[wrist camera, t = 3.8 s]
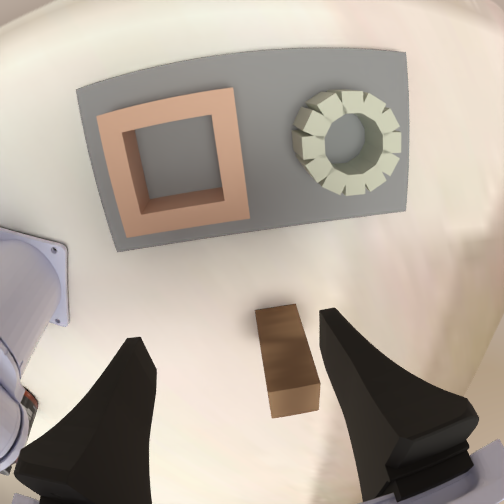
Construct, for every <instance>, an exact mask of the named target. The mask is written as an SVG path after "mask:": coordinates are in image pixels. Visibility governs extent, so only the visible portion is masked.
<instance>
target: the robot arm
mask: <svg viewBox="0 0 504 504" xmlns="http://www.w3.org/2000/svg"><path fill="white" fill-rule="evenodd" d="M53 247H54V248H56V250H57V251H55V250H54V249H53ZM319 316H320V350H321V354H322V358H323V361H324V365H325V368H326V371H327V374H328V376H329V379H330V381H331V384H332V386H333V389H334V391H335V394H336V396H337V399H338V401H339V404H340V406H341V409H342V412H343V414H344V417H345V421H346V424H347V428H348V432H349V436H350V440H351V444H352V448H353V452H354V457H355V461H356V466H357V471H358V476H359V481H360V487H361V492H362V499H363V502H362V503H359V504H498V503H500V502H502V501H503V500H504V447H503V445H502V443H501V441H500V440H499V439H496V440H495V441H493V442H491V443H490V444H488V445H486V446H484V447H482V448H481V449H479V450H477V451H476V452H474V453H473V454H471V455H470V456H469V453H468V451H467V450H468V449H469V444H468V442H467V440H466V439H467V438H468V437H469V435H470V434H471V433H472V432H473V430H474V429H475V428H476V426H477V424H478V421H479V417H478V415H477V413H476V411H475V410H474V408H473V406H472V405H471V403H470V402H469V401H468V399H467V398H464V397H462V396H459V395H456V394H453V393H451V392H448V391H445V390H443V389H441V388H438V387H436V386H434V385H432V384H430V383H428V382H426V381H424V380H422V379H420V378H418V377H417V376H415V375H413V374H411V373H410V372H408V371H406V370H405V369H403V368H402V367H400V366H399V365H397V364H396V363H394V362H393V361H392V360H390V359H389V358H388V357H386V356H385V355H384V354H383V353H381V352H380V351H379V350H378V349H377V348H375V347H374V346H373V345H372V344H371V343H370V342H369V341H368V340H366V339H365V338H364V337H363V336H362V335H361V334H360V333H359V332H358V331H357V330H356V329H355V328H354V327H353V326H352V325H351V324H350V323H349V322H348V321H347V320H346V319H345V318H344V317H343V316H342V314H341V313H340V312H339V311H338V310H337V309H336V308H329V309H324V310H319ZM58 319H59V320H58ZM49 322H50V323H54V324H57V325H60V326H64V327H66V326H67V325H68V324H69V311H68V289H67V248H66V247H65V246H64V245H63V244H60V243H56V242H52V241H49V240H45V239H41V238H37V237H33V236H30V235H26V234H22V233H19V232H15V231H11V230H8V229H4V228H0V471H2V470H4V469H6V468H7V467H8V466H10V465H11V464H12V463H13V462H14V461H15V460H16V459H17V458H18V460H17V463H16V467H15V470H14V475H15V477H16V478H17V479H18V480H19V481H20V482H21V483H22V484H24V485H25V486H27V487H28V488H30V489H31V490H33V491H34V492H36V493H37V494H39V495H40V496H41V497H40V501H38V500H36V499H33V498H31V497H27V496H24V495H21V494H18V493H15V494H14V496H13V501H12V504H152V500H151V490H150V476H149V438H150V430H151V423H152V416H153V409H154V403H155V396H156V379H157V369H156V367H155V365H154V363H153V361H152V359H151V357H150V355H149V353H148V351H147V349H146V347H145V345H144V343H143V341H142V339H141V337H134V338H127V339H126V341H125V342H124V343H123V345H122V346H121V348H120V349H119V351H118V352H117V353H116V355H115V356H114V358H113V359H112V361H111V362H110V364H109V365H108V366H107V368H106V369H105V371H104V372H103V373H102V375H101V376H100V377H99V379H98V380H97V381H96V383H95V384H94V385H93V386H92V388H91V389H90V390H89V392H88V393H87V394H86V395H85V396H84V398H83V399H82V400H81V401H80V402H79V403H78V404H77V405H76V406H75V407H74V408H73V409H72V410H71V411H70V412H69V413H68V414H67V415H66V416H65V417H64V418H63V419H62V420H61V421H60V422H59V423H57V424H56V425H55V426H54V427H53V428H51V429H50V430H49V431H48V432H46V433H45V434H44V435H42V436H41V437H39V438H38V439H37V440H35V441H33V442H32V443H30V444H29V445H27V446H25V447H24V445H25V443H26V440H27V436H28V430H29V420H28V415H27V412H26V410H25V408H24V406H23V405H22V404H21V400H22V398H23V395H24V393H25V389H24V387H23V386H22V384H21V382H20V379H21V377H22V375H23V373H24V370H25V368H26V366H27V364H28V362H29V360H30V358H31V356H32V354H33V352H34V350H35V348H36V346H37V344H38V342H39V340H40V338H41V336H42V334H43V332H44V330H45V328H46V326H47V325H48V323H49Z"/></svg>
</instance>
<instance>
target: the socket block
mask: <svg viewBox="0 0 504 504" xmlns="http://www.w3.org/2000/svg"><path fill="white" fill-rule="evenodd" d="M76 93H77V98H78V104H79V109H80V115H81V120H82V125H83V129H84V134H85V139H86V143H87V148H88V152H89V156H90V160H91V164H92V168H93V172H94V176H95V180H96V184H97V188H98V191H99V195H100V198H101V202H102V206H103V209H104V212H105V216H106V219H107V222H108V226H109V229H110V232H111V235H112V238H113V241H114V244H115V247H116V250H117V252H122V251H128V250H134V249H140V248H147V247H153V246H159V245H166V244H172V243H178V242H185V241H192V240H198V239H205V238H211V237H218V236H225V235H232V234H238V233H245V232H252V231H259V230H266V229H273V228H281V227H288V226H295V225H302V224H310V223H317V222H325V221H332V220H340V219H347V218H355V217H363V216H371V215H379V214H387V213H395V212H403V211H406V203H407V188H408V169H409V91H408V73H407V59H406V52H397V51H387V50H374V49H356V48H292V49H274V50H260V51H249V52H240V53H231V54H224V55H216V56H210V57H203V58H197V59H191V60H186V61H180V62H175V63H170V64H166V65H161V66H156V67H152V68H148V69H144V70H140V71H136V72H132V73H128V74H124V75H121V76H117V77H114V78H110V79H107V80H103V81H100V82H97V83H94V84H91V85H88V86H85V87H82V88H79V89H76Z"/></svg>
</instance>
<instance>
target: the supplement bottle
mask: <svg viewBox="0 0 504 504" xmlns="http://www.w3.org/2000/svg"><path fill="white" fill-rule="evenodd" d="M21 404H22V405H23V406H24V408H25V410H26V412H27V415H28V420H29V430H28V436H27V440H28V437H29V433H30V430H31V427H32V424H33V421H34V418H35V415H36V412H37V409H38V404H37V401H36V400H35V398H34V397H33V396H32V395H31V394H30V393H29V392H28V391H27V390H25V393H24V395H23V398H22V400H21ZM27 440H26V443H27ZM26 443H25V445H24V447H25V446H26ZM17 460H18V458H17V459H16V460H15V461H14V462H13V463H12V464H14V463H17ZM12 464H11V465H12ZM11 465H10V466H8V467H7V468H6V469H4V470H2V471H0V473H1V474H4V475H9V474H10V470H11V468H12V467H11Z"/></svg>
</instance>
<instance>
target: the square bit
mask: <svg viewBox="0 0 504 504" xmlns="http://www.w3.org/2000/svg"><path fill="white" fill-rule="evenodd" d="M255 314H256V320H257V327H258V334H259V341H260V347H261V354H262V360H263V366H264V373H265V379H266V385H267V392H268V398H269V404H270V410H271V416H272V418H279V417H285V416H291V415H296V414H302V413H307V412H312V411H317V410H319V397H320V380H319V377H318V374H317V370H316V367H315V364H314V361H313V357H312V354H311V351H310V348H309V345H308V341H307V338H306V335H305V332H304V329H303V326H302V322H301V319H300V316H299V313H298V310H297V307H296V304H292V305H285V306H279V307H273V308H266V309H260V310H255Z"/></svg>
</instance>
